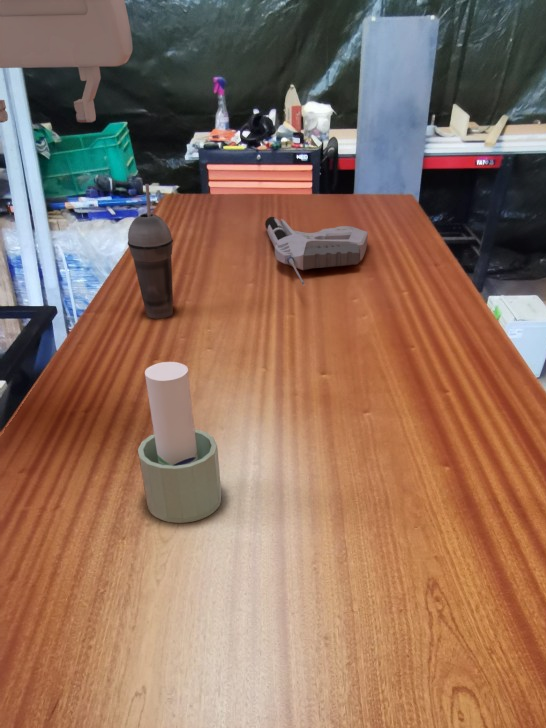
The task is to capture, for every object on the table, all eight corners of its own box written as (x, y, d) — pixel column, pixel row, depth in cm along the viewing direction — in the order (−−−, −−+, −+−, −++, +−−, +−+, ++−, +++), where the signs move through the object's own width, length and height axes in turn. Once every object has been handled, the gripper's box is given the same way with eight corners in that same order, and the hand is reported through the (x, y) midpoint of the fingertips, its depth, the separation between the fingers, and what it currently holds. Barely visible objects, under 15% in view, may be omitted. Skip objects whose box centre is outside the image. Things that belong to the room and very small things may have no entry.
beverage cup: (164, 302, 130) (148, 174, 117) (189, 313, 126) (175, 182, 113) (130, 313, 126) (109, 183, 113) (154, 325, 122) (136, 191, 109)
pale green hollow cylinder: (138, 520, 81) (128, 466, 77) (158, 479, 88) (149, 426, 83) (213, 525, 80) (207, 470, 76) (227, 483, 87) (223, 429, 82)
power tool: (351, 234, 162) (261, 237, 160) (353, 208, 159) (261, 210, 157) (405, 296, 128) (291, 301, 126) (408, 264, 124) (291, 269, 122)
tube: (170, 484, 86) (152, 360, 75) (206, 487, 85) (193, 363, 75) (158, 505, 82) (138, 379, 72) (195, 509, 82) (180, 382, 72)
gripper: (-121, -56, 65) (-68, 128, 74) (103, -64, 63) (129, 127, 72) (-86, -57, 70) (-40, 116, 79) (124, -64, 67) (146, 115, 76)
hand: (42, 121), depth 75 cm, fingers open, 8 cm apart
